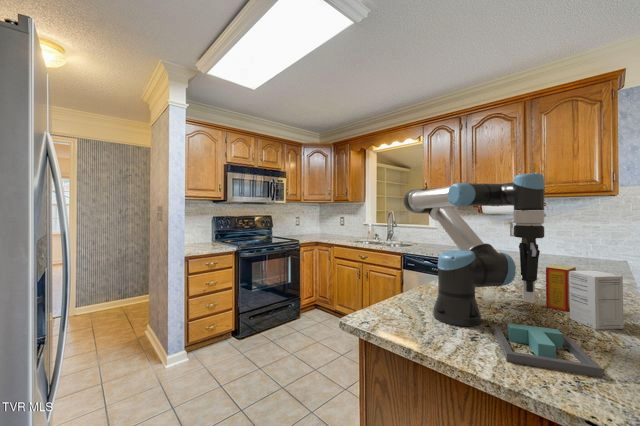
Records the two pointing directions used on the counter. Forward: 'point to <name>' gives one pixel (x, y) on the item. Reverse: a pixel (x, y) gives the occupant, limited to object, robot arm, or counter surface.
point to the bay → (584, 367)
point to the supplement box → (596, 299)
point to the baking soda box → (558, 287)
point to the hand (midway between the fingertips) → (528, 301)
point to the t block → (536, 338)
